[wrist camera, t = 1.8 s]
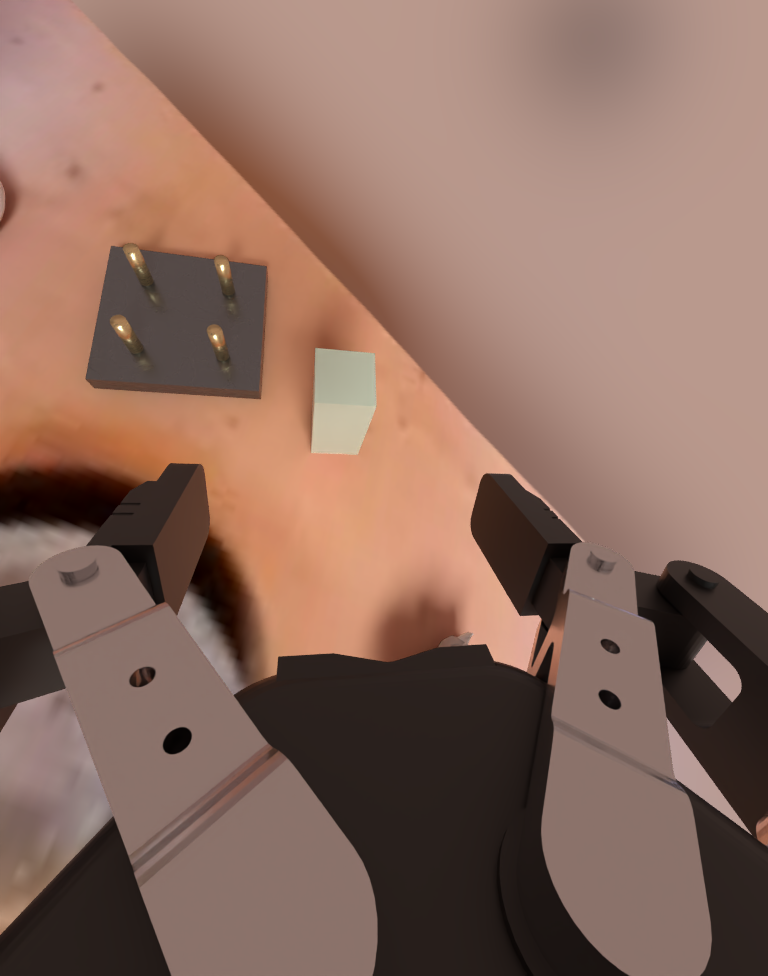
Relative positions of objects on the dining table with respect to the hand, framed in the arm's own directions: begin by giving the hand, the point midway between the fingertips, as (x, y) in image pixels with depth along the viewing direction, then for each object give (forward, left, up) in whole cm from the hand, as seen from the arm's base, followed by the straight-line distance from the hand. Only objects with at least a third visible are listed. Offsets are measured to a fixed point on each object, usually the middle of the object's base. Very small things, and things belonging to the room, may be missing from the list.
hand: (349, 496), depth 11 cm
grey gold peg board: (-13, +23, -24) cm, 35 cm away
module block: (+1, +13, -24) cm, 27 cm away
